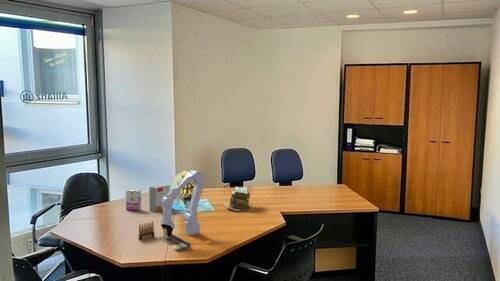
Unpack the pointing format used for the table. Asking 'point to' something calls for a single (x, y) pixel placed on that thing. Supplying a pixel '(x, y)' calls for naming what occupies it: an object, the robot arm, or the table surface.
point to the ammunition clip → (146, 231)
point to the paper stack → (239, 200)
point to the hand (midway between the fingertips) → (167, 235)
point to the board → (176, 243)
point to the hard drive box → (158, 196)
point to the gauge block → (166, 233)
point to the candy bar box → (133, 200)
